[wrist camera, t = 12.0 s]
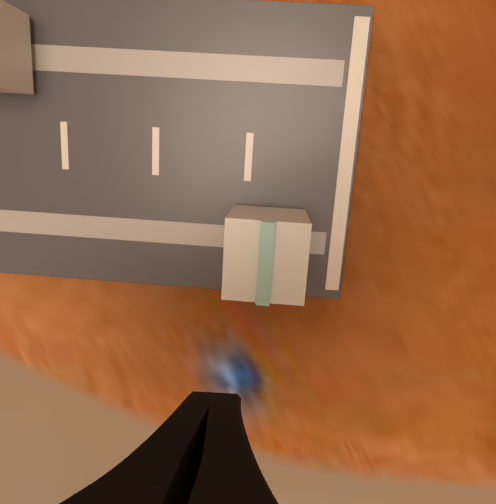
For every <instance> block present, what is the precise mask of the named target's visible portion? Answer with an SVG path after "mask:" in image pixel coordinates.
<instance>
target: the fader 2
mask: <svg viewBox="0 0 496 504" xmlns="http://www.w3.org/2000/svg"><path fill="white" fill-rule="evenodd" d="M311 230H312V223H311V221H310V219H309V217H308V215H307V212H306V210H305V209H292V208H277V207H263V206H248V205H234V206H233V208H232V209H231V210H230V212H229V213H228V214H227V216H226V217H225V229H224V250H223V271H222V292H221V300H232V301H245V302H255V305H258V306H269V303H271V304H283V305H296V306H304V302H305V292H306V281H307V271H308V261H309V250H310V240H311Z"/></svg>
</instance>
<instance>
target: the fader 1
mask: <svg viewBox="0 0 496 504" xmlns="http://www.w3.org/2000/svg"><path fill="white" fill-rule="evenodd" d="M0 93H15V94H33V95H34V89H33V72H32V54H31V37H30V19H29V14H27V13H25V12H23V11H21V10H19V9H18V8H16V7H14V6H12V5H10V4H8V3H7V2H5V1H3V0H0Z"/></svg>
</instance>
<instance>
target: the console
mask: <svg viewBox="0 0 496 504" xmlns="http://www.w3.org/2000/svg"><path fill="white" fill-rule="evenodd" d="M3 1H5V2H7V3H8V4H10V5H12V6H14V7H16V8H18V9H19V10H21V11H23V12H25V13H27V14H29V19H30V37H31V54H32V72H33V89H34V95H33V94H15V93H0V273H13V274H26V275H39V276H52V277H65V278H78V279H91V280H104V281H117V282H130V283H143V284H156V285H169V286H182V287H195V288H208V289H221V290H222V271H223V250H224V229H225V217H226V216H227V214H228V213H229V212H230V210H231V209H232V208H233V206H234V205H248V206H263V207H277V208H292V209H305V210H306V212H307V215H308V217H309V219H310V221H311V223H312V230H311V240H310V250H309V261H308V271H307V281H306V292H305V296H312V297H325V298H337V299H340V292H341V283H342V275H343V266H344V257H345V249H346V240H347V232H348V223H349V215H350V206H351V198H352V189H353V181H354V172H355V164H356V155H357V147H358V138H359V130H360V121H361V113H362V104H363V96H364V87H365V79H366V70H367V62H368V53H369V44H370V36H371V27H372V19H373V10H374V6H365V5H343V4H321V3H299V2H277V1H255V0H3Z"/></svg>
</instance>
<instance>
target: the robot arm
mask: <svg viewBox="0 0 496 504" xmlns="http://www.w3.org/2000/svg"><path fill="white" fill-rule="evenodd" d="M60 504H278V502H277V501H276V499H275V497H274V495H273V494H272V492H271V490H270V488H269V487H268V485H267V483H266V481H265V479H264V477H263V475H262V473H261V471H260V469H259V466H258V464H257V461H256V459H255V457H254V454H253V452H252V449H251V447H250V444H249V441H248V437H247V434H246V431H245V428H244V424H243V420H242V415H241V398H240V397H239V396H238V395H237V394H228V393H211V392H192V393H191V394H190V395H189V396H188V397H187V398H186V399H185V400H184V401H183V402H182V403H181V405H180V406H179V407H178V408H177V409H176V410H175V411H174V412H173V413H172V415H171V416H170V417H169V418H168V419H167V420H166V421H165V422H164V423H163V424H162V425H161V426H160V427H159V428H158V429H157V430H156V431H155V432H154V433H153V434H152V435H151V436H150V437H149V438H148V439H147V440H146V441H145V442H143V443H142V444H141V445H140V446H139V447H138V448H137V449H136V450H135V451H134V452H132V453H131V454H130V455H129V456H128V457H127V458H125V459H124V460H123V461H122V462H121V463H119V464H118V465H117V466H116V467H114V468H113V469H112V470H110V471H109V472H107V473H106V474H105V475H103V476H102V477H101V478H99V479H98V480H96V481H95V482H93V483H92V484H90V485H88V486H87V487H86V488H84V489H82V490H81V491H79V492H77V493H76V494H74V495H73V496H71V497H69V498H68V499H66V500H65V501H63V502H62V503H60Z"/></svg>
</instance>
